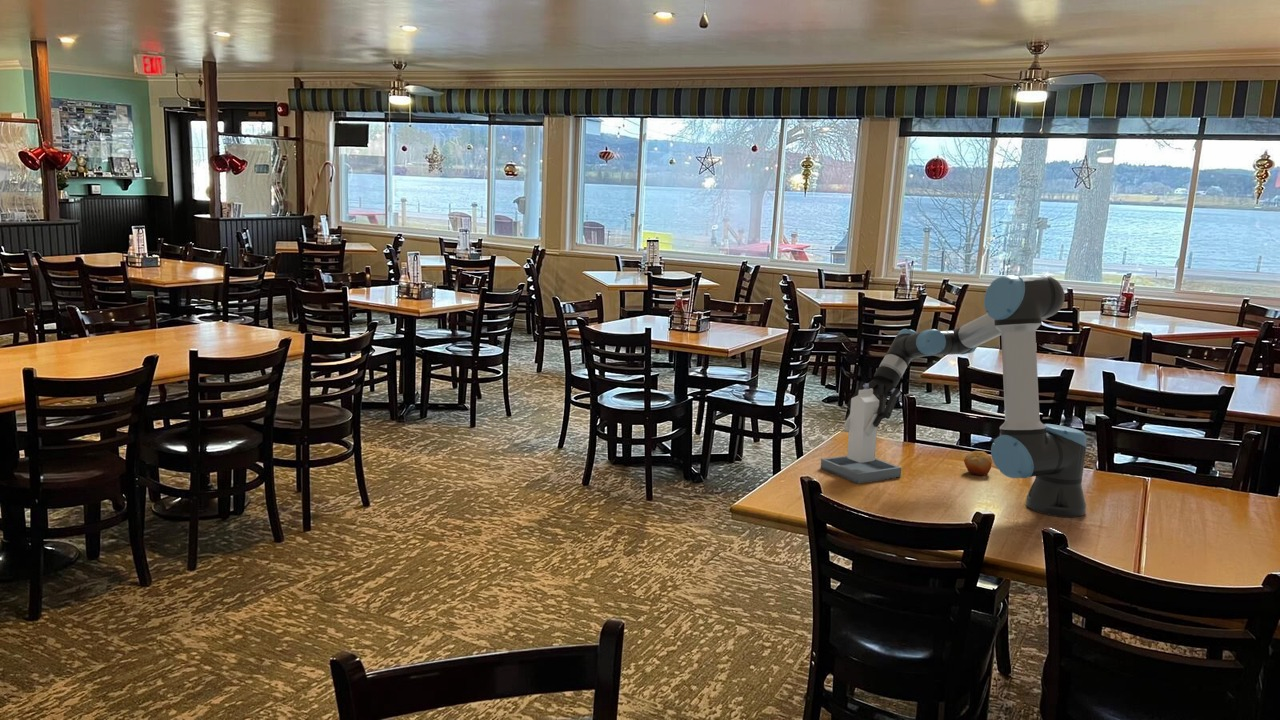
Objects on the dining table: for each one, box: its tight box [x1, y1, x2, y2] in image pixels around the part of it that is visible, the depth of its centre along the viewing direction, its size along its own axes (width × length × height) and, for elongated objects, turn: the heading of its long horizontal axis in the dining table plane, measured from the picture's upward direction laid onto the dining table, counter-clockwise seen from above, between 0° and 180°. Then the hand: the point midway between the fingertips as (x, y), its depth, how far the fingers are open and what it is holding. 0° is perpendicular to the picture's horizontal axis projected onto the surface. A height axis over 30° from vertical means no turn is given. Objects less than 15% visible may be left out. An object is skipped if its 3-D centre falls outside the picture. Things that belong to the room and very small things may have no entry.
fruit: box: [963, 450, 993, 476], centre depth 290 cm, size 8×8×8 cm
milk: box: [846, 388, 879, 463], centre depth 285 cm, size 6×6×22 cm
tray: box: [820, 455, 902, 485], centre depth 287 cm, size 17×17×3 cm
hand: (856, 431), depth 283 cm, fingers closed on milk, 7 cm apart
